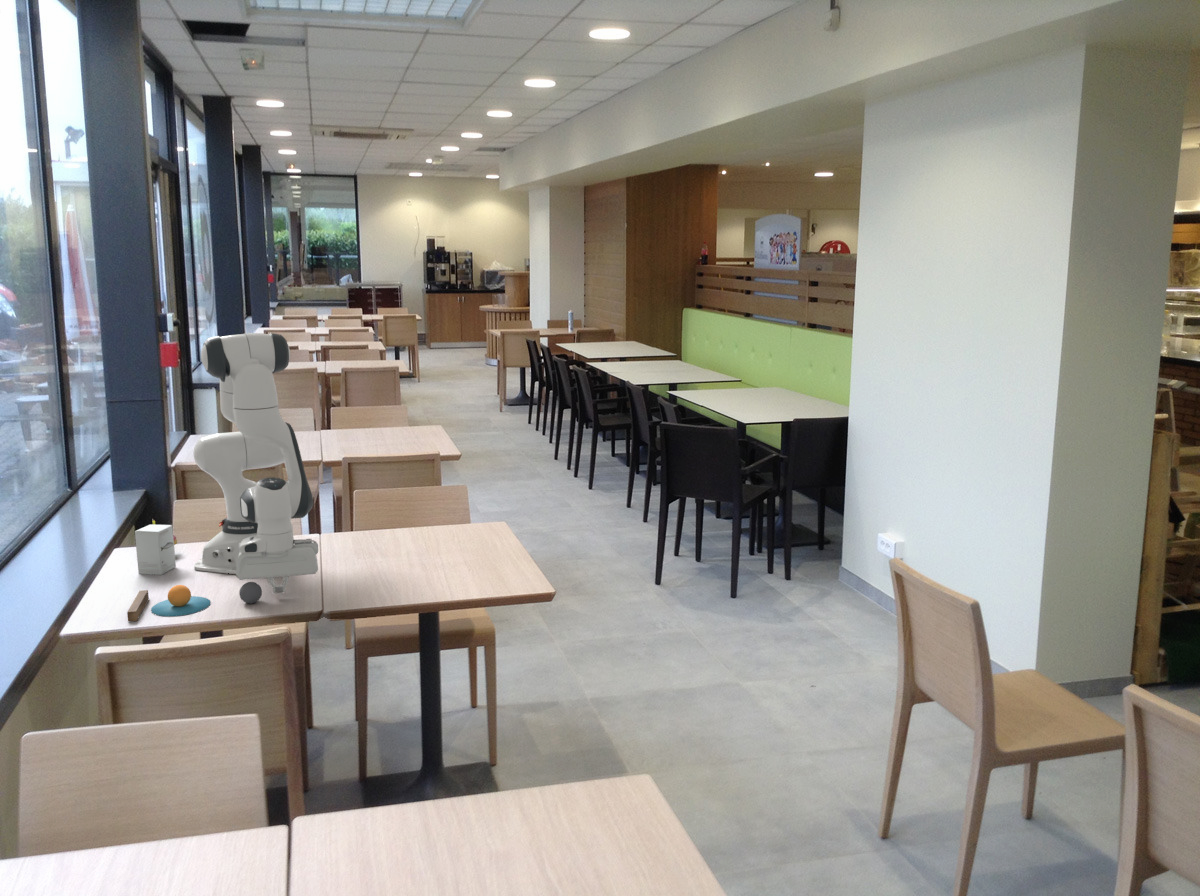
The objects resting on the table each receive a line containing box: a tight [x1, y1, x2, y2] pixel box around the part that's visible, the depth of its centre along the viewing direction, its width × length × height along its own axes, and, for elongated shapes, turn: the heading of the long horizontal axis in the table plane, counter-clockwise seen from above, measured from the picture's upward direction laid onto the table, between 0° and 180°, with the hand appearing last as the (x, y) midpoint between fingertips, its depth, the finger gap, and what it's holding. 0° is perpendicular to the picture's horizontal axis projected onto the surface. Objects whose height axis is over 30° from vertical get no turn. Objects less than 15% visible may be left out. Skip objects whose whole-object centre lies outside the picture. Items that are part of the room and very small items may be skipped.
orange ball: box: [167, 584, 192, 607], centre depth 253 cm, size 6×6×6 cm
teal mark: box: [150, 595, 211, 617], centre depth 253 cm, size 14×14×1 cm
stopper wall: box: [126, 589, 150, 622], centre depth 250 cm, size 2×16×2 cm, turn 14°
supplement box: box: [134, 524, 177, 576], centre depth 280 cm, size 7×7×13 cm
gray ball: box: [238, 581, 263, 604], centre depth 255 cm, size 6×6×6 cm
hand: (279, 592), depth 258 cm, fingers closed
